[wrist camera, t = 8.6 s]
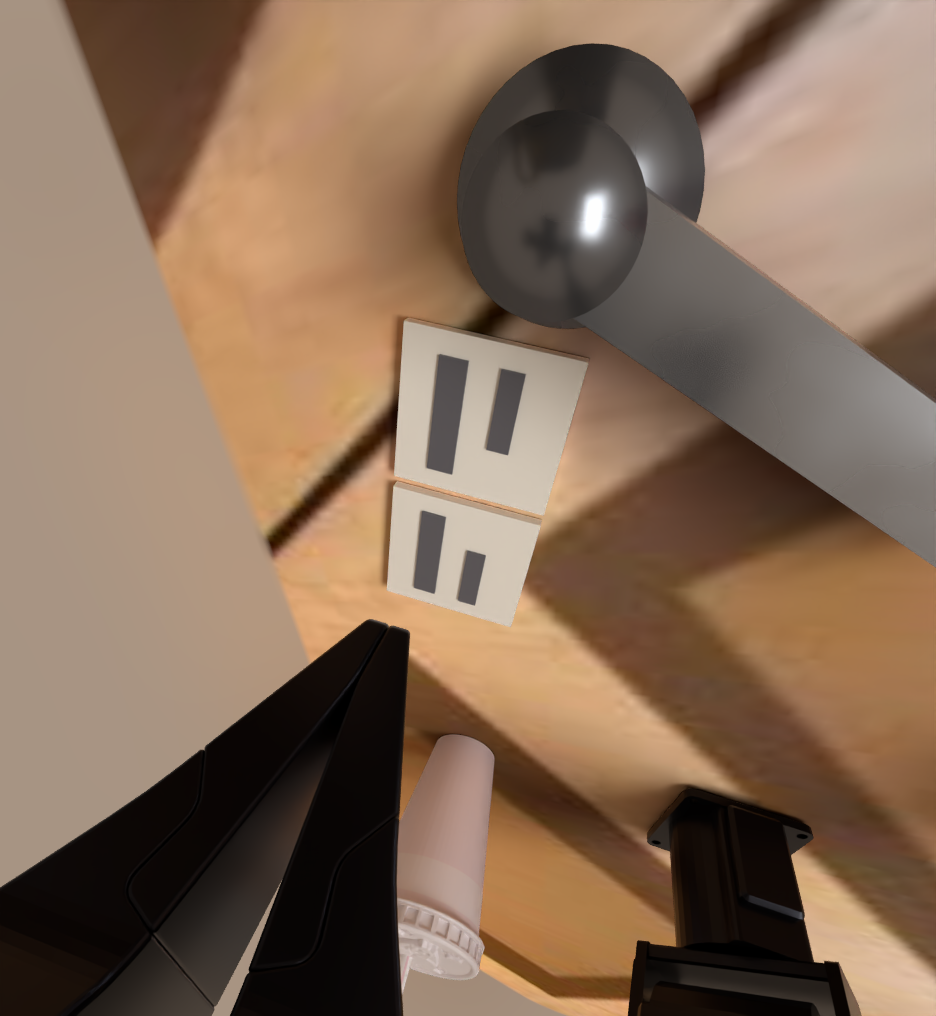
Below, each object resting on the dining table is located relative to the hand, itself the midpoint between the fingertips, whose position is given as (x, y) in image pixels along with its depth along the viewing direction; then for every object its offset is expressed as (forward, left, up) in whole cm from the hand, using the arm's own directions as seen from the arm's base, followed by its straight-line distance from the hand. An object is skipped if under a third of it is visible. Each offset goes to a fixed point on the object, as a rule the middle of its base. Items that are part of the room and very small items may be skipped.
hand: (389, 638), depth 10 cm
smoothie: (-22, -2, -10) cm, 25 cm away
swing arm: (+4, -8, -9) cm, 12 cm away
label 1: (0, 0, -10) cm, 10 cm away
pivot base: (+7, -1, -10) cm, 12 cm away
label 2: (-7, 0, -10) cm, 12 cm away
